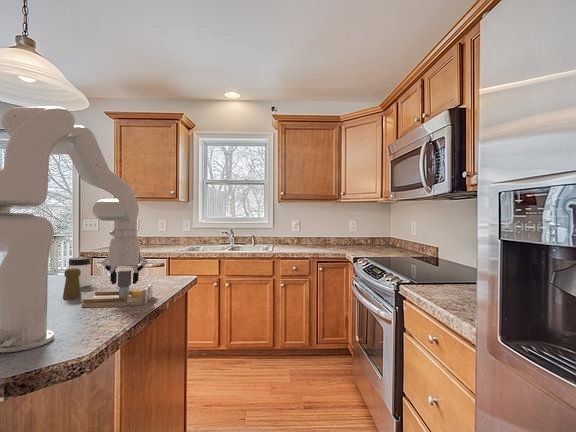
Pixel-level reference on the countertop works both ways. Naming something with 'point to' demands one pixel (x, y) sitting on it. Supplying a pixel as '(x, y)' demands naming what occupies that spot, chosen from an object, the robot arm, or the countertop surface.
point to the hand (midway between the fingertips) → (124, 283)
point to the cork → (72, 284)
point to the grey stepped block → (124, 283)
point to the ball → (136, 294)
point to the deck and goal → (117, 299)
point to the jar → (82, 269)
